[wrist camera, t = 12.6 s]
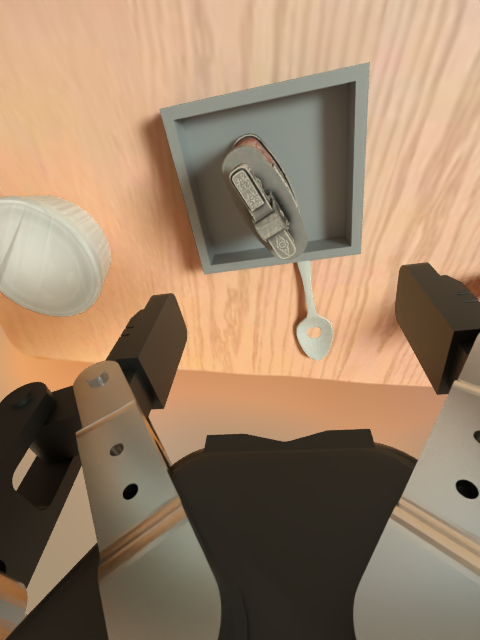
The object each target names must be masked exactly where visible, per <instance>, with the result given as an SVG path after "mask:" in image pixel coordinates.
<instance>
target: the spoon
mask: <svg viewBox="0 0 480 640" xmlns="http://www.w3.org/2000/svg"><path fill="white" fill-rule="evenodd" d="M297 264H298V267H299V271H300V274H301V277H302V281H303V286H304V290H305V295H306V301H307V311H308V313H307V316H306V317H305V318H304V319H303V320H302V321H301V322H299V324H298V325H297V327H296V336H297V339H298V342H299V344H300V346H301V348H302V349H303V351H304V352H305V353H306V354H307V355H308V356H309V357H311V358H312V359H315V360H321V359H322V358H324V357H325V356H326V355H327V354H328V352H329V350H330V347H331V344H332V338H333V327H332V325H331V322H330V321H329V320H327V319H326V318H324V317H321V316H319V315H318V314H317V313H316V310H315V306H314V300H313V294H312V285H311V262H310V261H302V262H297ZM312 327H319V328H320V329H321V336H320V337H318V338H310V337H309V335H308V333H307V330H308V329H310V328H312Z"/></svg>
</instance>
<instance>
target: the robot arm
mask: <svg viewBox="0 0 480 640" xmlns="http://www.w3.org/2000/svg"><path fill="white" fill-rule="evenodd" d="M395 313H396V318H397V321H398V323H399V325H400V327H401V329H402V331H403V333H404V334H405V336H406V338H407V340H408V342H409V344H410V346H411V347H412V349H413V351H414V353H415V355H416V357H417V358H418V360H419V362H420V364H421V366H422V368H423V370H424V371H425V373H426V375H427V377H428V379H429V381H430V383H431V384H432V386H433V388H434V390H435V392H436V394H437V395H438V394H448V396H447V398H446V400H445V403H444V405H443V407H442V409H441V411H440V414H439V416H438V418H437V420H436V423H435V424H434V427H433V429H432V431H431V433H430V435H429V438H428V440H427V442H426V444H425V447H424V449H423V451H422V453H421V455H420V457H419V460H417V459H415V458H414V457H412V456H410V455H408V454H407V453H404V452H403V451H400V450H398V449H395V448H393V447H390V446H387V445H384V444H380V443H375V442H374V441H373V437H372V435H371V431H370V429H357V430H329V431H324V432H320V433H317V434H313V435H310V436H306V437H302V438H299V439H295V440H292V441H287V442H282V441H276V440H272V439H267V438H262V437H257V436H252V435H248V434H227V435H207V438H206V443H205V448H203V449H200V450H198V451H195V452H193V453H191V454H189V455H187V456H185V457H183V458H182V459H180V460H179V461H177V462H176V463H174V464H173V465H172V463H171V461H170V459H169V457H168V456H167V453H166V451H165V449H164V447H163V445H162V443H161V441H160V439H159V437H158V435H157V433H156V431H155V429H154V427H153V425H152V422H151V421H150V419H149V417H148V416H149V413H150V411H151V409H164V407H165V404H166V401H167V398H168V395H169V392H170V389H171V386H172V383H173V380H174V377H175V374H176V371H177V368H178V365H179V362H180V359H181V356H182V353H183V350H184V347H185V344H186V341H187V329H186V325H185V322H184V319H183V317H182V314H181V311H180V308H179V306H178V303H177V300H176V297H175V296H174V294H172V293H169V294H161V295H153V296H152V297H151V298H150V300H149V302H148V303H147V305H146V307H145V309H143V310H140V311H139V312H138V313H137V314H136V315H134V316H133V317H132V318H131V319H130V321H129V323H128V324H127V326H126V329H124V331H123V333H122V334H121V337H119V339H118V341H117V342H116V344H115V346H114V347H113V349H112V351H111V352H110V354H109V356H108V357H107V359H106V360H105V361H102V362H98V363H96V364H94V365H92V366H90V367H88V368H87V369H85V370H84V371H83V372H82V373H80V375H79V376H78V377H77V378H76V380H75V382H74V385H73V386H70V387H67V388H63V389H60V390H57V391H54V392H51V391H50V390H49V389H48V388H47V386H46V385H45V384H44V383H41V382H33V383H29V384H26V385H24V386H21V387H20V388H18V389H16V390H14V391H13V392H11V393H10V394H9V395H7V396H6V397H5V398H4V399H3V400H2V401H1V403H0V640H480V302H478V299H477V298H476V297H475V296H474V295H473V294H471V293H470V291H469V290H468V289H467V288H466V287H465V286H464V285H463V283H462V282H460V281H458V280H455V279H453V278H451V277H449V276H447V275H443V276H440V275H439V274H438V273H437V272H436V271H435V270H434V268H433V267H432V266H431V265H430V264H429V263H427V262H426V263H418V264H409V265H402V266H401V268H400V271H399V277H398V285H397V294H396V302H395ZM28 448H30V449H31V450H32V451H33V452H34V453H35V454H36V455H37V457H36V458H35V460H34V462H33V463H32V465H31V467H30V469H29V470H28V472H27V474H26V475H25V477H24V479H23V481H22V482H21V484H20V486H19V487H18V489H17V491H15V490H14V488H13V485H12V478H13V474H14V472H15V470H16V468H17V466H18V465H19V463H20V461H21V460H22V458H23V457H24V455H25V453H26V452H27V450H28ZM81 466H82V469H83V474H84V479H85V484H86V489H87V494H88V499H89V503H90V508H91V513H92V518H93V523H94V528H95V533H96V538H97V543H96V544H95V545H94V546H93V547H92V549H91V550H90V551H89V552H88V553H87V554H86V555H85V556H84V557H83V558H82V559H81V560H80V561H79V562H78V563H77V564H76V565H75V566H74V567H73V568H72V569H71V570H70V572H69V573H68V574H67V575H66V576H65V577H64V578H63V579H62V580H61V581H60V582H59V583H58V584H57V585H56V586H55V587H54V588H53V589H52V590H51V591H50V592H49V594H47V596H46V597H45V598H44V599H43V600H42V601H41V602H40V603H39V604H38V605H37V606H36V607H35V608H34V609H33V610H32V611H31V612H30V613H29V614H28V615H27V614H25V611H26V606H27V598H28V597H27V591H26V588H27V586H28V584H29V582H30V580H31V577H32V575H33V573H34V571H35V569H36V566H37V564H38V562H39V560H40V557H41V555H42V553H43V551H44V549H45V546H46V544H47V542H48V540H49V537H50V535H51V533H52V531H53V528H54V526H55V524H56V522H57V519H58V517H59V515H60V513H61V510H62V508H63V506H64V504H65V501H66V499H67V497H68V495H69V492H70V490H71V488H72V486H73V483H74V481H75V479H76V477H77V475H78V472H79V470H80V468H81Z"/></svg>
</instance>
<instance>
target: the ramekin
mask: <svg viewBox="0 0 480 640" xmlns="http://www.w3.org/2000/svg"><path fill="white" fill-rule="evenodd" d="M110 265H111V251H110V246H109V243H108V240H107V238H106V236H105V234H104V232H103V231H102V229H101V227H100V226H99V225H98V223H97V222H96V221H95V220H94V219H93V218H92V216H91V215H89V214H88V213H87V212H86V211H85V210H83V209H82V208H80V207H79V206H78V205H76V204H74V203H72V202H70V201H68V200H65V199H63V198H59V197H56V196H50V195H35V196H25V197H22V196H5V197H0V292H1V293H3V294H4V295H5V296H7V297H8V298H9V299H11V300H12V301H14V302H15V303H17V304H19V305H20V306H22V307H25V308H27V309H29V310H32V311H34V312H37V313H40V314H44V315H49V316H57V317H67V316H73V315H77V314H80V313H82V312H84V311H86V310H87V309H88V308H90V307H91V306H92V305H93V304H94V303H95V301H96V300H97V299H98V297H99V295H100V293H101V291H102V287H103V283H104V281H105V278H106V276H107V274H108V272H109V269H110Z"/></svg>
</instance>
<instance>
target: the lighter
mask: <svg viewBox="0 0 480 640" xmlns="http://www.w3.org/2000/svg"><path fill="white" fill-rule="evenodd" d="M222 176H223V179H224V181H225V184H226V186H227V188H228V191H229V193H230V195H231V198H232V200H233V202H234V204H235V206H236V207H237V209H238V211H239V213H240V214H241V216H242V218H243V220H244V221H245V223H246V224H247V226H248V227H249V228H250V229H251V231H252V232H253V233H254V235H255V236H256V237H257V238H258V240H259V241H260V242H261V243H262V244H263V245H264V246H265V247H266V248H267V249H268V250H269V251H270V252H271V253H272V254H273V255H274V256H275V257H276V258H278V259H281V260H291V259H294V258H296V257H298V256H299V255H301V254H302V253H303V252H304V250H305V249H306V247H307V244H308V239H307V234H306V231H305V228H304V225H303V222H302V219H301V215H300V212H299V206H298V203H297V200H296V197H295V193H294V190H293V188H292V185H291V183H290V181H289V179H288V177H287V175H286V172H285V170H284V169H283V167H282V166H281V164H280V163H279V161H278V160H277V158H276V157H275V155H274V153H273V152H272V151H271V150H270V149H269V147H268V146H267V145H266V144H265V143H264V142H263V140H262V139H261V138H260V137H259V136H257V135H256V134H252V133H249V134H244V135H242V136H241V137H239V138H238V140H237V141H236V142H235V144H234V146H233V148H232V150H231V151H230V152H229V153H228V155H227V156H226V158H225V160H224V162H223V164H222Z"/></svg>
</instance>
